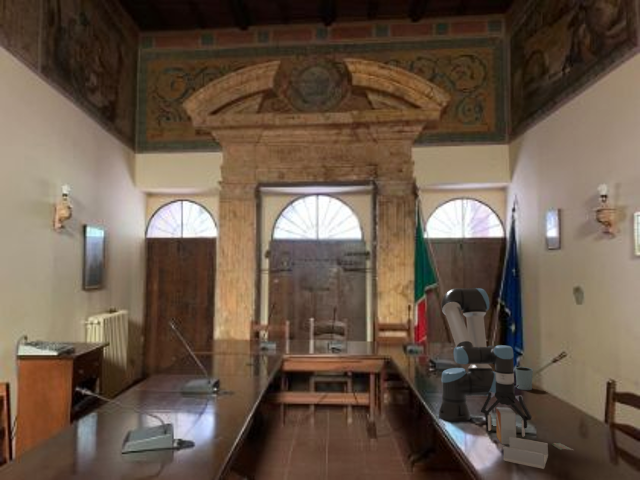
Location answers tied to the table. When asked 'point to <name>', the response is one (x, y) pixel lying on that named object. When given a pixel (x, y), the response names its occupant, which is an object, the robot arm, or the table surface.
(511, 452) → the end holder
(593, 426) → the table surface
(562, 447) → the map
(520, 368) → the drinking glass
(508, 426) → the small box
